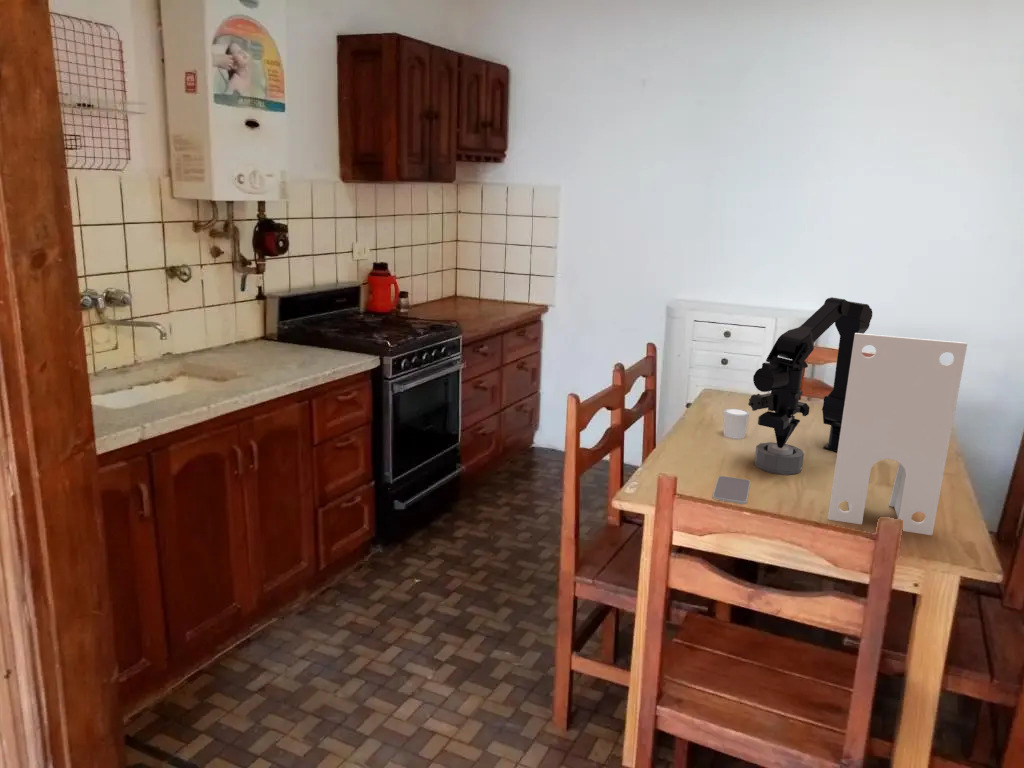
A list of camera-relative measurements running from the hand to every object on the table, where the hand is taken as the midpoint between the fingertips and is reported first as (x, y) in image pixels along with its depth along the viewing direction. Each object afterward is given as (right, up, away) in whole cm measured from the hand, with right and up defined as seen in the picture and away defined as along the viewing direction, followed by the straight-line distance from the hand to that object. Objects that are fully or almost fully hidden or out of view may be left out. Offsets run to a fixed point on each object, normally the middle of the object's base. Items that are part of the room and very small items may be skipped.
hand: (780, 447), depth 200 cm
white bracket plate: (+12, -13, -25) cm, 31 cm away
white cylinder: (-5, +1, +25) cm, 25 cm away
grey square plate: (-16, -9, -15) cm, 24 cm away
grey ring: (0, -5, +1) cm, 5 cm away
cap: (0, -4, +1) cm, 4 cm away
